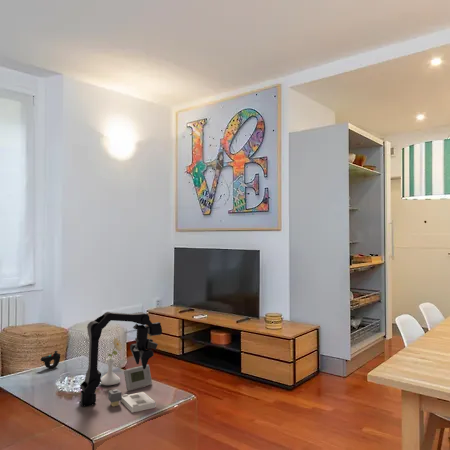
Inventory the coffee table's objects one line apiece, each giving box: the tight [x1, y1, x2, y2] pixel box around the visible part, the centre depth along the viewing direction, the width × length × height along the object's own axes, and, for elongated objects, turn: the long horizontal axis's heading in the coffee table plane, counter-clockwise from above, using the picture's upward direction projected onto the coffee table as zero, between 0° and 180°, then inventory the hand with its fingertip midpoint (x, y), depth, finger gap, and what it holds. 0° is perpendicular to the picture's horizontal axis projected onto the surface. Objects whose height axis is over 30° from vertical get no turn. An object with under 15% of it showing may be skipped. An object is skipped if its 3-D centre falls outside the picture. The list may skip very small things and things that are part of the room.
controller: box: [40, 350, 62, 370], centre depth 260 cm, size 4×12×10 cm, turn 145°
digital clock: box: [123, 364, 153, 392], centre depth 231 cm, size 16×9×11 cm, turn 123°
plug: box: [107, 388, 123, 407], centre depth 205 cm, size 5×5×7 cm
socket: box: [120, 391, 157, 413], centre depth 206 cm, size 12×16×3 cm
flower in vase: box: [100, 337, 123, 386], centre depth 236 cm, size 13×11×25 cm
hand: (140, 366), depth 221 cm, fingers open, 9 cm apart
